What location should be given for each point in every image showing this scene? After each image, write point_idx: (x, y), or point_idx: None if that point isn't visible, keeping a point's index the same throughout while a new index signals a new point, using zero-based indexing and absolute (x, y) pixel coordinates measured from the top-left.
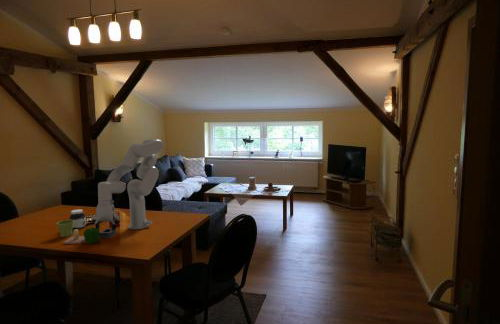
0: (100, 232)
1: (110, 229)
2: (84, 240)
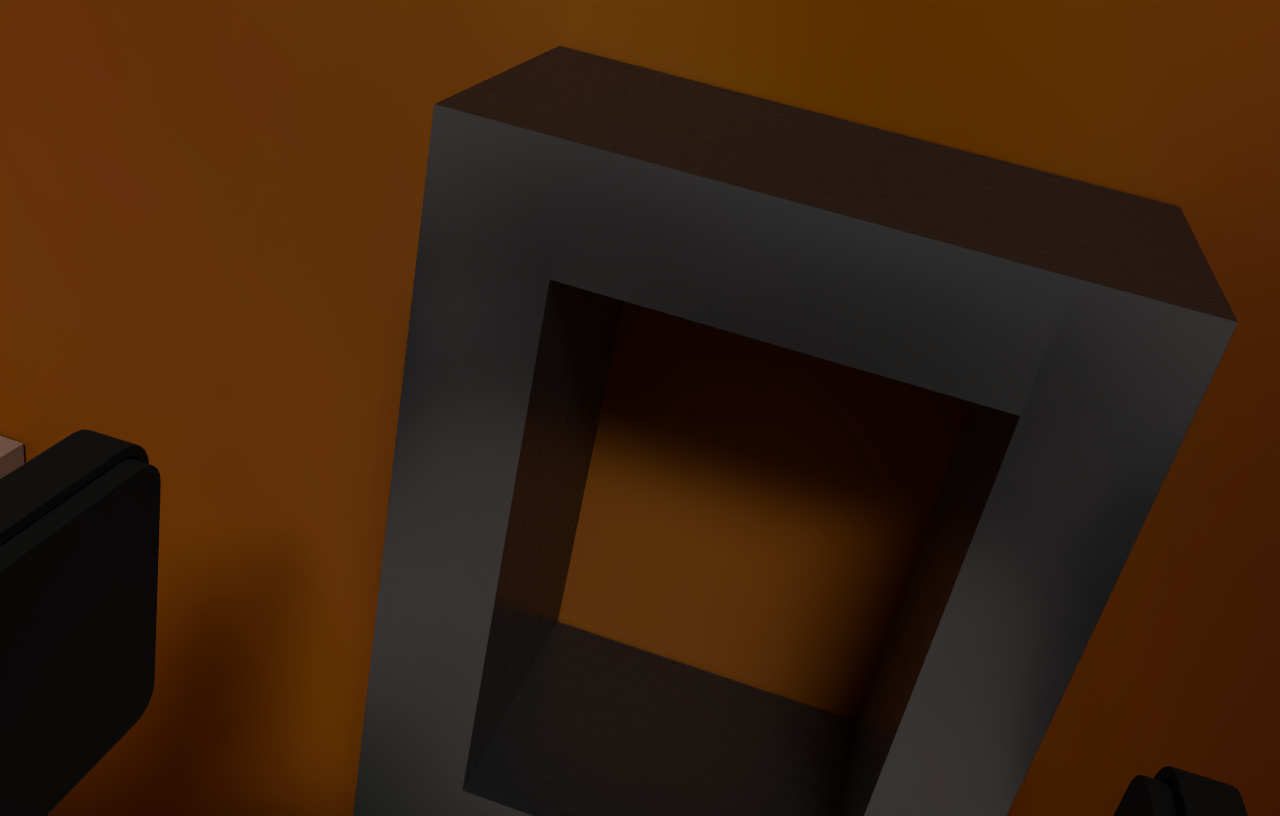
0: (387, 780)
1: (841, 354)
2: None
